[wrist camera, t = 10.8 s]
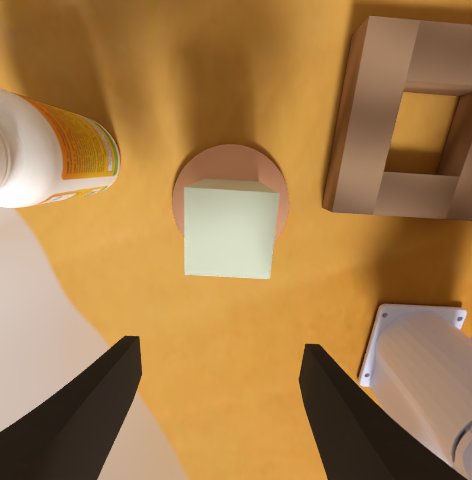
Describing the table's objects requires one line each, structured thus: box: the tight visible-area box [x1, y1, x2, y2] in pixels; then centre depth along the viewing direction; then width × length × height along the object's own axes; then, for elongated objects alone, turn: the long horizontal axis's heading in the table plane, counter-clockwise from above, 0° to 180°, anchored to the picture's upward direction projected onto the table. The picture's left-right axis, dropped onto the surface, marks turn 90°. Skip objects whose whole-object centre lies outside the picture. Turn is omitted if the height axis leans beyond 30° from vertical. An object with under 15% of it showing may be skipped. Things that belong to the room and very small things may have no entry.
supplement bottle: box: [0, 89, 120, 208], centre depth 13 cm, size 5×5×10 cm
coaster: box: [172, 144, 289, 241], centre depth 18 cm, size 9×9×1 cm
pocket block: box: [322, 16, 472, 221], centre depth 16 cm, size 11×11×2 cm
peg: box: [184, 178, 280, 279], centre depth 14 cm, size 4×4×8 cm
